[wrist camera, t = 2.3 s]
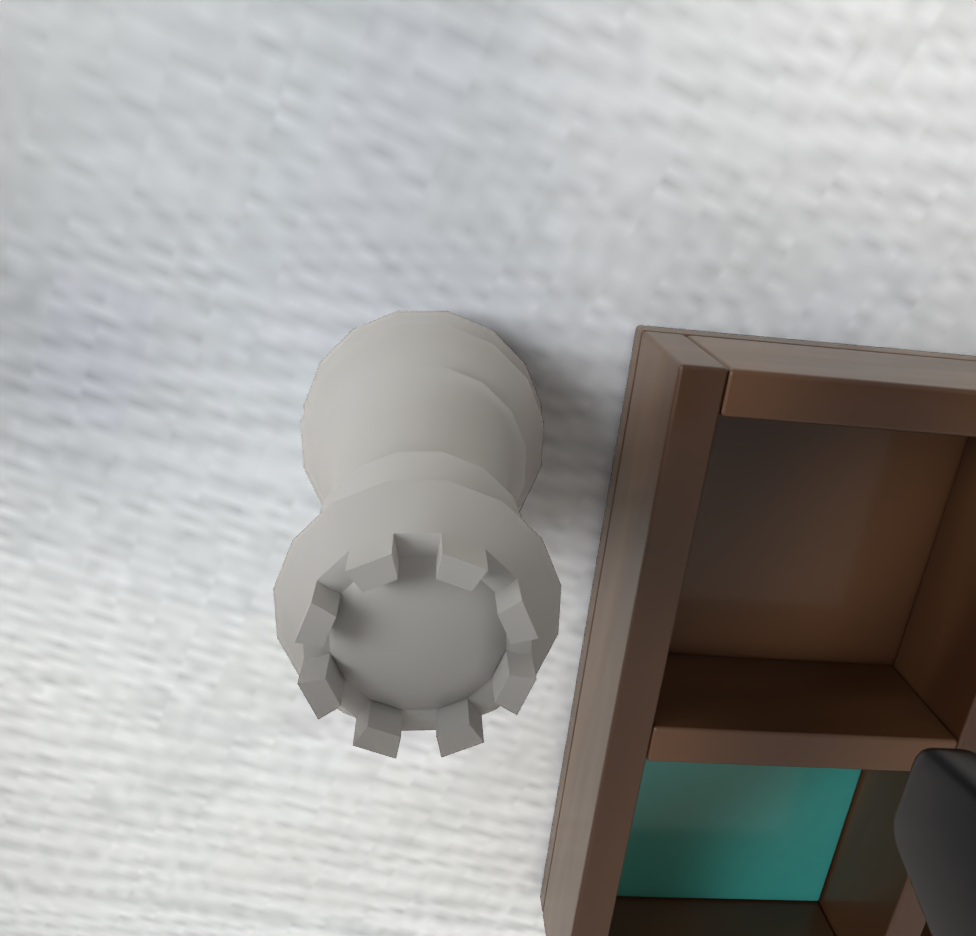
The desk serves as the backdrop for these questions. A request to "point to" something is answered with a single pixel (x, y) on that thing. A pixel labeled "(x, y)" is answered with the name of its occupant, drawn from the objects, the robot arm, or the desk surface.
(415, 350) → the rook chess piece
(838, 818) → the grid
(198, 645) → the desk surface
